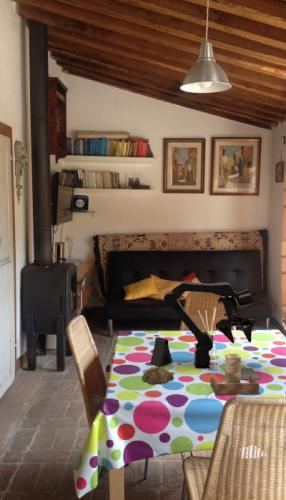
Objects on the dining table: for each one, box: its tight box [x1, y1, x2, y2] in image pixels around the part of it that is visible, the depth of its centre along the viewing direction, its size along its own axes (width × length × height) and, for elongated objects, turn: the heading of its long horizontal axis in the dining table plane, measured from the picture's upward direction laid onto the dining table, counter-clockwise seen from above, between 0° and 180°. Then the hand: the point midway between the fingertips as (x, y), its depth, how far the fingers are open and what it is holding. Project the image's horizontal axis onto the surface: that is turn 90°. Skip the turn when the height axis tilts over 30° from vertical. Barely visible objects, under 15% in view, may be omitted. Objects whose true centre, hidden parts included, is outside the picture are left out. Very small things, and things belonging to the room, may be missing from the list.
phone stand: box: [149, 336, 174, 368], centre depth 204 cm, size 9×6×12 cm, turn 132°
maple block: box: [224, 353, 242, 383], centre depth 178 cm, size 5×5×13 cm
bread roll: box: [141, 366, 175, 386], centre depth 186 cm, size 13×12×5 cm
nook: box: [209, 376, 260, 396], centre depth 176 cm, size 17×9×4 cm, turn 93°
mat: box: [240, 367, 261, 381], centre depth 192 cm, size 12×12×1 cm
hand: (242, 342), depth 189 cm, fingers open, 9 cm apart
